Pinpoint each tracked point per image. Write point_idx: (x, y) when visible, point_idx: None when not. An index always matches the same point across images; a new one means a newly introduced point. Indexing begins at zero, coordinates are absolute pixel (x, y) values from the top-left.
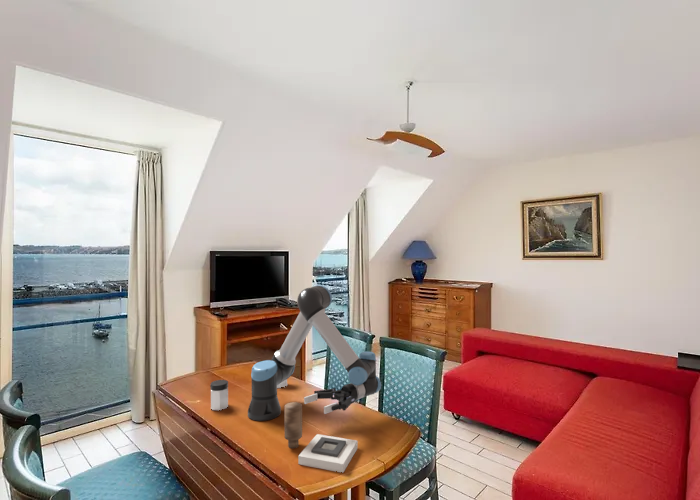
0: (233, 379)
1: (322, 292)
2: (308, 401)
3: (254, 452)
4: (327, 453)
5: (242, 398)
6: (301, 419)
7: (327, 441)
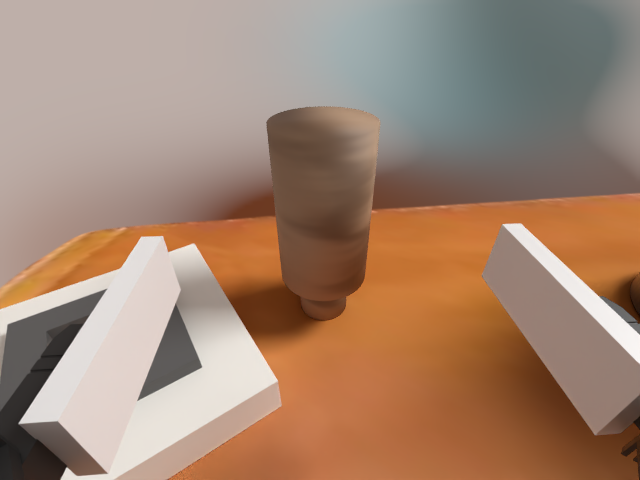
0: None
1: None
2: (508, 294)
3: None
4: (72, 304)
5: None
6: (282, 211)
7: None
